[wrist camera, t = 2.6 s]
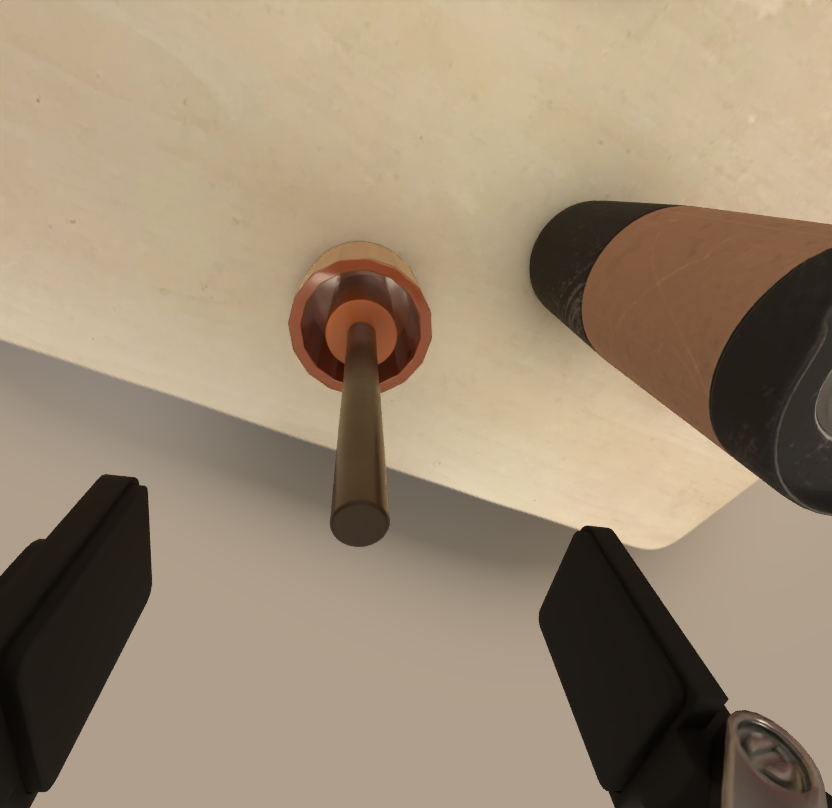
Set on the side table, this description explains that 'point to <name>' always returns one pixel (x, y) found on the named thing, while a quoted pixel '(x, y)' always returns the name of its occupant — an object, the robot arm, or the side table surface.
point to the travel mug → (708, 324)
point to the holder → (316, 304)
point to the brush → (360, 408)
